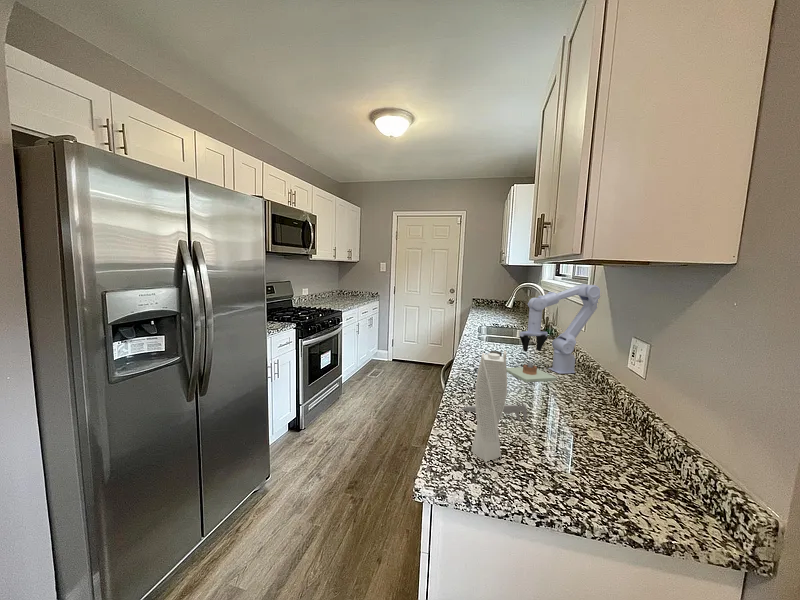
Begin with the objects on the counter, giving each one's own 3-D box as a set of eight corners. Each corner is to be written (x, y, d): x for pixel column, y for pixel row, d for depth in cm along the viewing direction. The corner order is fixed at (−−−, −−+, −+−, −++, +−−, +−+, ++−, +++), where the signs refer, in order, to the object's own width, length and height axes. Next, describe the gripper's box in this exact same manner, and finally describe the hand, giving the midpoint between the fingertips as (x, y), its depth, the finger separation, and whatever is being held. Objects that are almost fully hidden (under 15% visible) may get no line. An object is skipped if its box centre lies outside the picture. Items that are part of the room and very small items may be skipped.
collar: (531, 370, 156) (531, 364, 156) (538, 374, 151) (539, 368, 150) (520, 371, 155) (521, 364, 154) (528, 375, 149) (528, 368, 149)
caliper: (525, 421, 107) (527, 402, 106) (525, 422, 106) (527, 403, 105) (461, 409, 113) (463, 391, 113) (461, 410, 112) (462, 392, 111)
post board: (532, 369, 163) (533, 357, 162) (556, 380, 148) (557, 367, 147) (504, 370, 158) (505, 358, 158) (525, 382, 143) (527, 369, 142)
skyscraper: (508, 459, 84) (518, 351, 81) (486, 467, 80) (496, 353, 77) (486, 444, 91) (494, 343, 88) (465, 450, 87) (472, 345, 84)
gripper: (527, 324, 153) (524, 353, 154) (553, 324, 157) (550, 352, 159) (517, 321, 160) (515, 349, 161) (542, 321, 164) (540, 348, 165)
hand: (532, 350), depth 160 cm, fingers open, 7 cm apart
